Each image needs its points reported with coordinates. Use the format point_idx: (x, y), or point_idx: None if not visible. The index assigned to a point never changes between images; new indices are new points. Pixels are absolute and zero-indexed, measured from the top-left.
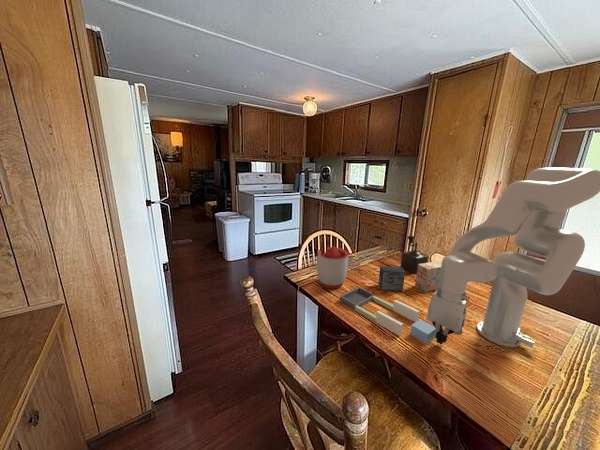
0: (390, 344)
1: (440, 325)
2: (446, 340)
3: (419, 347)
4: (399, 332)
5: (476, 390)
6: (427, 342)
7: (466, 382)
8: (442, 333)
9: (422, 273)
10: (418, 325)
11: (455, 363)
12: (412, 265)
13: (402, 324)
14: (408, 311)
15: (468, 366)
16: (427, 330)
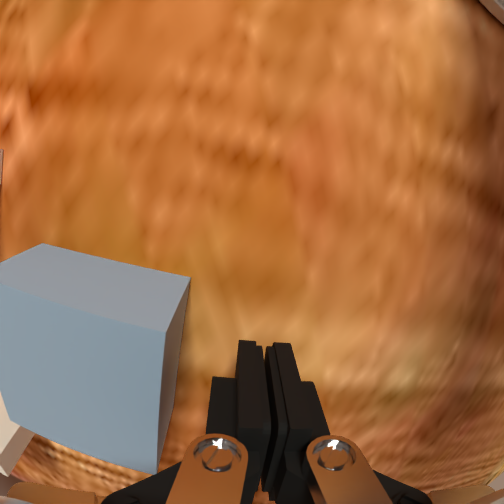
0: (72, 482)
1: (217, 495)
2: (312, 383)
3: (162, 452)
4: (28, 435)
5: (434, 473)
6: (173, 397)
7: (408, 475)
8: (276, 489)
9: None
10: (31, 402)
11: (374, 431)
12: None
13: (2, 466)
14: None
15: (435, 398)
16: (118, 432)
